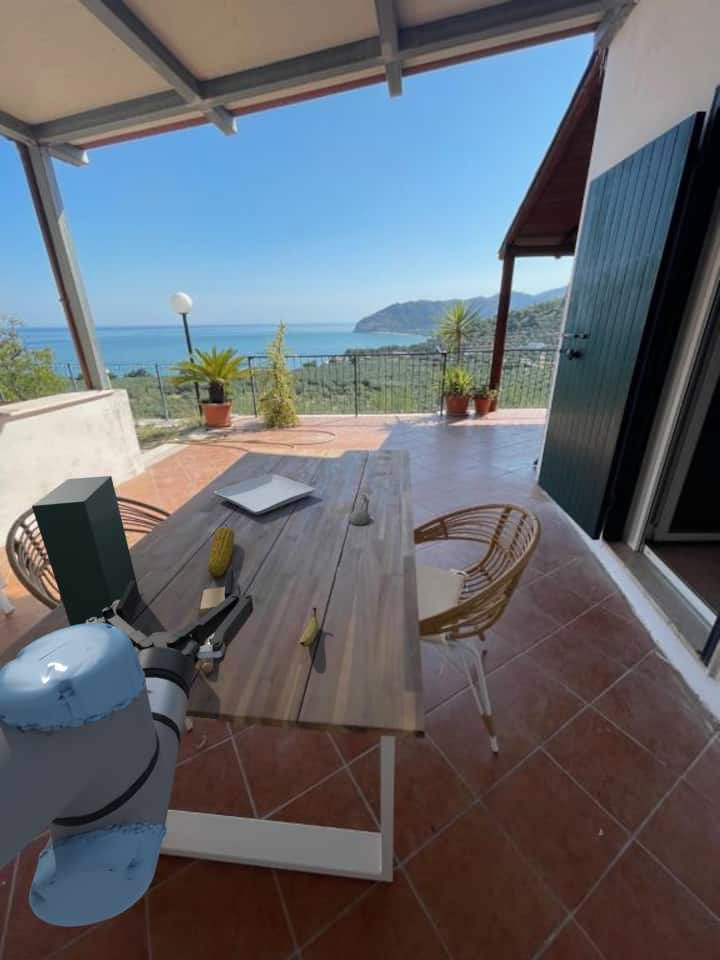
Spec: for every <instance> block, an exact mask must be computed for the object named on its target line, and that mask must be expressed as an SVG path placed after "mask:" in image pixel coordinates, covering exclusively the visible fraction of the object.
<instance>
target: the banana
mask: <svg viewBox="0 0 720 960" xmlns="http://www.w3.org/2000/svg"><path fill="white" fill-rule="evenodd" d="M312 610H313V615H312V617H311V619H310V621H309V623H308V625H307V626H306V628H305V630H303V631H304V632H303V634H302V635H301V637H300V638H299V640H298V643H299V644H300V645H301V646H303V647H309V646H310V645H311V644H312V643H313V641H314V640H315V638H316V636H317V633H318V630H319V620H318V618H317V607H313V608H312Z"/></svg>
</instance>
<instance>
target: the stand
mask: <svg viewBox="0 0 720 960" xmlns="http://www.w3.org/2000/svg"><path fill="white" fill-rule="evenodd" d="M31 508H32V511H33V515H34V519H35V522H36V523H37V524H36V525H37V527H38V530H39V533H40V537H41V539H42V543H43V545H44V549H45V552H46V555H47V558H48V561H49V565H50V568H51V571H52V573H53V577H54V580H55V583H56V586H57V589H58V592H59V595H60V598H61V601H62V604H63V605H62V606H63V608H64V611H65V614H66V617H67V620H68V623H69V627H70V626H74V625H78V624H84V623H86V620H87V619H89V618H92V617H96V618H97V619H99V618H102V617H104V616H103V613H102V610H103V609H104V608H106V607H111V606H112V604H113V602H114V601H116V600H120V599H121V597H122V595H123V593H124V591H125V590H126V588H127V586H128V584H129V582H130V581H134V580H136V584H137V589H138V593H139V597H138V599H137V602H136V604H135V606H134V608H133V610H132V613H131V615H130V617H129V619H128V621H127V623H128V624H129V621H130V619H131V616H132V614H133V612H134V610H135V608H136V606H137V603H138V601H139V599H140V597H141V595H140V591H139V586H138V582H137V578H136V574H135V573H136V572H135V569H134V565H133V561H132V556H131V553H130V548H129V544H128V541H127V535H126V531H125V527H124V524H123V519H122V515H121V511H120V507H119V502H118V499H117V494H116V489H115V486H114V482H113V477H112V475H103V476H92V477H78V478H67V479H66V480H64V481H63V482H62V483H60V484H59V485H58V486H56V487H55V488H54V489H53V490H51V491H49V493H46V495H44V496H43V497H42V498H40V499H39V500H38V501H36V502H35V503H33V504H32V505H31Z"/></svg>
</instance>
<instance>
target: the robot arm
mask: <svg viewBox="0 0 720 960" xmlns="http://www.w3.org/2000/svg"><path fill="white" fill-rule="evenodd" d="M136 582H137V579H136V580H134V581H130V582H129V584H128V586H127V588H126V590H125V591H124V593H123V595H122V597H121V599H120V600H116V601H114V602H113V604H112V606H111V607H106V608H104V609H103V610H102V613H103V616H104V617H102V618H99V619H97V618H96V617H92V618H89V619H87V620H86V623H84V624H78V625H74V626H70V625H69V626H67V627H64V628H60V629H56V630H54V631H52V632H49V633H47V634H45V635H42V636H41V637H39V638H37V639H36V640H34V641H33V642H30V643H29V644H27V645H26V646H24V647H23V648H22V649H20V650H19V651H18V653H17V655H16V657H15V658H14V659H13V660H10V661H9V662H7V663H6V664H4V665H3V667H2V668H1V669H0V871H1V870H3V869H4V868H5V866H7V865H8V864H9V863H10V862H11V861H12V860H13V859H14V858H15V857H17V855H18V854H19V853H20V852H22V850H24V849H25V848H26V847H27V846H28V845H29V844H30V843H31V842H32V841H33V840H35V838H36V837H38V835H40V834H41V833H42V832H43V831H44V830H45V829H46V828H47V827H49V837H48V841H47V842H46V844H45V846H44V848H43V850H42V851H41V852H40V853H39V856H38V858H37V861H38V863H37V867H36V870H35V873H34V876H33V879H32V882H31V886H30V888H29V896H28V902H29V905H30V909H31V910H32V912H33V914H34V915H35V916H36V917H38V919H39V920H41V921H43V922H46V923H47V924H50V925H54V926H58V927H59V926H60V927H81V926H82V927H83V926H88V925H92V924H97V923H99V922H103V921H105V920H108V919H109V920H110V919H111V918H112V919H113V918H114V917H116V916H119V915H120V914H122V913H123V912H125V911H127V910H128V909H129V908H131V907H132V906H134V905H135V903H137V902H138V901H139V900H140V899H141V898H142V897H143V895H144V894H145V893H146V892H147V890H148V889H149V887H150V885H151V883H152V881H153V879H154V876H155V873H156V868H157V864H158V861H159V857H160V853H161V849H162V846H163V845H162V843H163V842H164V841H163V840H164V838H165V836H166V834H167V830H168V827H166V824H167V818H168V813H169V808H170V807H169V806H170V802H171V795H172V791H173V786H174V781H175V774H176V768H177V763H178V758H179V752H180V746H181V740H182V735H183V730H184V726H185V721H186V716H187V711H188V704H189V698H190V694H191V689H192V684H193V678H194V674H195V673H194V672H195V667H196V666H197V664H198V663H199V661H201V659H203V658H211V657H213V658H214V663H215V664H219V663H221V662H223V661H224V660H225V658H226V654H227V649H228V648H229V646H230V645H231V643H232V642H233V640H234V639H235V637H236V636H237V635H238V633H239V632H240V631H241V629H242V628H243V627H244V626H245V623H246V622H247V621H248V619H250V617H251V615H252V614H253V613H254V604H253V595H252V594H249V593H247V594H244V595H243V596H242V590H241V584H240V583H239V582H235V575H234V569H233V567H227V568H226V577H225V585H224V587H225V592H224V595H225V600H224V601H222V602H221V603H220V604H218V605H217V606H216V607H215V608H213V609H212V610H211V611H209V612H208V613H207V614H205V615H204V616H203V617H202V618H201V617H200V618H199V619H198V620H196V621H194V620H192V621H190V622H189V623H188V624H186V625H184V626H183V627H182V628H181V629H180V628H175V629H171V630H168V631H155V632H152V634H150V635H146V634H144V632H142V631H141V630H140V629H137V630H136V629H135V628H134V627H133V626H132V625H130V624H129V621H128V619H129V617H130V615H131V613H132V614H133V612H132V610H133V608H134V606H135V604H136V605H137V603H138V601H137V599H138V597H139V594H140V592H139V593H138V590H139V588H138V589H137V586H138V583H137V584H136ZM139 598H140V597H139ZM138 600H139V599H138ZM136 602H137V603H136ZM135 607H136V606H135ZM134 609H135V608H134ZM133 611H134V610H133ZM131 616H132V615H131ZM130 618H131V617H130ZM129 620H130V619H129ZM127 621H128V623H127ZM213 633H215V634H214V636H211V635H212V634H213ZM208 638H209V641H208V642H207V643H206V639H208ZM205 643H206V644H205Z"/></svg>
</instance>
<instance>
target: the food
mask: <svg viewBox="0 0 720 960" xmlns="http://www.w3.org/2000/svg"><path fill="white" fill-rule="evenodd" d="M212 539H213V540H212V543H211V547H210V551H209V552H210V553H209V556H208V561H207V563H208V565H207V568H208V573H209V574H210V576H213V577H214V578H216V577H220V576H222V575H223V574H224V573H225V572H226V571H227V568H228V566H229V564H230V561H231V558H232V553H233V548H234V543H235V533H234V530H233V529H232V528H231V527H229V526H220V527H219V528H218V529H216V531H215V532H214V534H213V538H212Z"/></svg>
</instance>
